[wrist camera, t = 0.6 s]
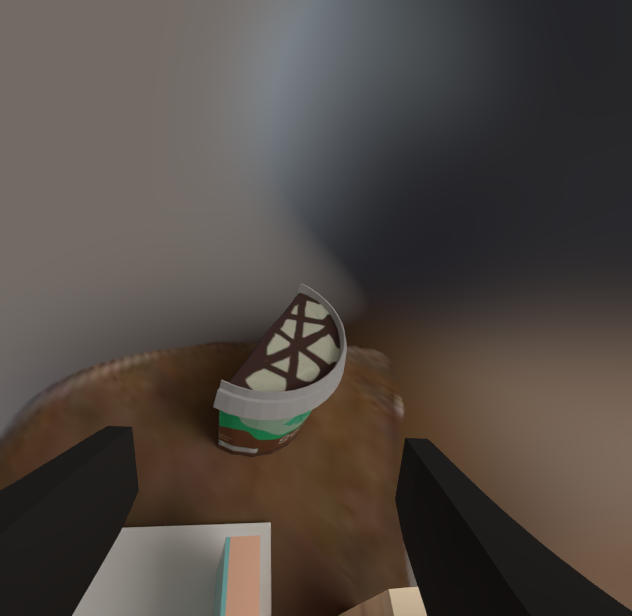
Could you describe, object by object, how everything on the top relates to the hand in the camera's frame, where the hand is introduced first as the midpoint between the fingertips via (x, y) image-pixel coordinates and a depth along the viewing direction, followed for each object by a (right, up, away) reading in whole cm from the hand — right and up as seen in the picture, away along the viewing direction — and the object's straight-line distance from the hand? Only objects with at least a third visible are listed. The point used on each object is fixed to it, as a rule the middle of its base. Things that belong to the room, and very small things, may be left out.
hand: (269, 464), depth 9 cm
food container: (-2, -6, +21) cm, 22 cm away
